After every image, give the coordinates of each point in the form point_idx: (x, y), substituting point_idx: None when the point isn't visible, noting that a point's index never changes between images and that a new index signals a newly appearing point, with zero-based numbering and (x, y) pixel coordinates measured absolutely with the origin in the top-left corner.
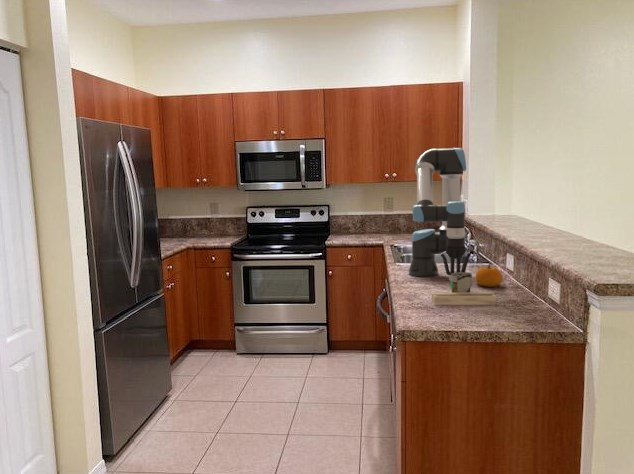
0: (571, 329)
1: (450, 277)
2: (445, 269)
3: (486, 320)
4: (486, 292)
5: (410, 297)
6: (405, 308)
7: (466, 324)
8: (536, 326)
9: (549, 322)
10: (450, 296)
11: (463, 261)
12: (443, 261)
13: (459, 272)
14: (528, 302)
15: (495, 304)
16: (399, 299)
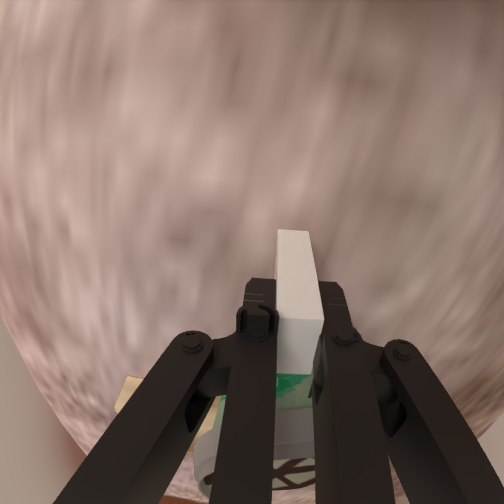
0: (399, 497)
1: (197, 479)
2: (145, 385)
3: (275, 492)
4: None
5: (31, 303)
6: (64, 409)
7: None
8: None
9: (396, 487)
10: None
11: (461, 497)
12: (69, 488)
13: (308, 457)
14: (496, 395)
15: None
16: (9, 322)
